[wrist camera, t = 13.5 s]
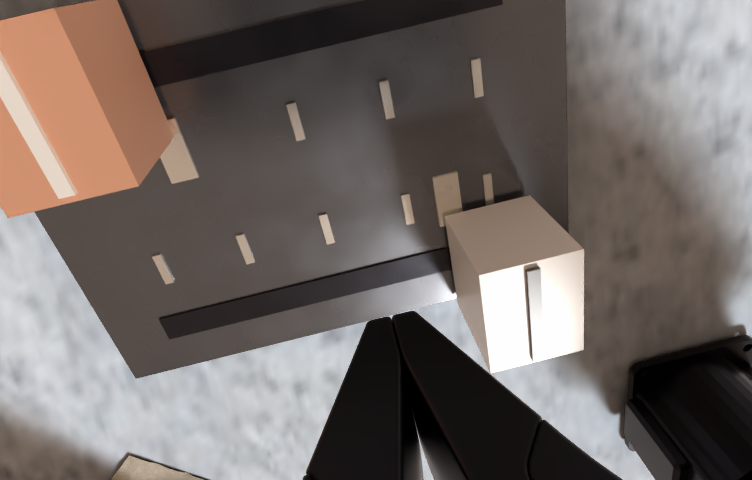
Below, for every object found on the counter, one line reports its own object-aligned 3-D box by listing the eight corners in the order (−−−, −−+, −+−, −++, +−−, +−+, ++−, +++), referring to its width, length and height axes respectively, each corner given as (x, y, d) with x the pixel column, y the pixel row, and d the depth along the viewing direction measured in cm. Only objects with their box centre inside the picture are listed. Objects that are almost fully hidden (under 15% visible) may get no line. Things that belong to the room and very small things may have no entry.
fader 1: (115, -4, 14) (50, 8, 10) (174, 136, 16) (137, 188, 12) (-1, 24, 14) (-108, 45, 10) (72, 161, 16) (5, 220, 12)
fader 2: (529, 195, 18) (586, 251, 15) (534, 284, 20) (585, 352, 17) (444, 216, 18) (480, 278, 15) (457, 303, 20) (492, 376, 17)
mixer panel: (541, -102, 16) (565, -109, 14) (552, 252, 22) (570, 272, 20) (-38, 33, 15) (-73, 41, 14) (145, 353, 22) (134, 380, 20)
